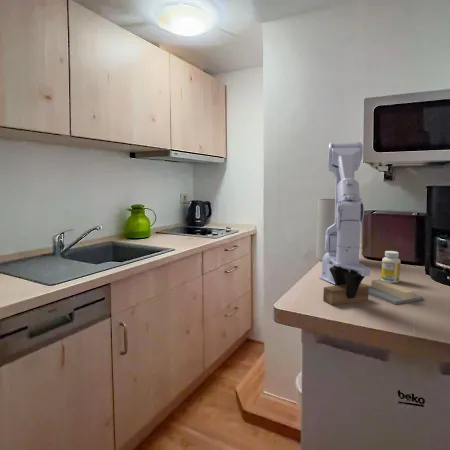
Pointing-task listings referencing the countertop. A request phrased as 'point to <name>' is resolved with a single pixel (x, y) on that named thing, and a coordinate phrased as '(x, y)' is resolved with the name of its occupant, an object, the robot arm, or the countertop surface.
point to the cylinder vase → (324, 224)
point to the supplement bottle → (390, 267)
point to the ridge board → (390, 297)
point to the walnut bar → (344, 294)
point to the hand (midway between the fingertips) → (345, 295)
